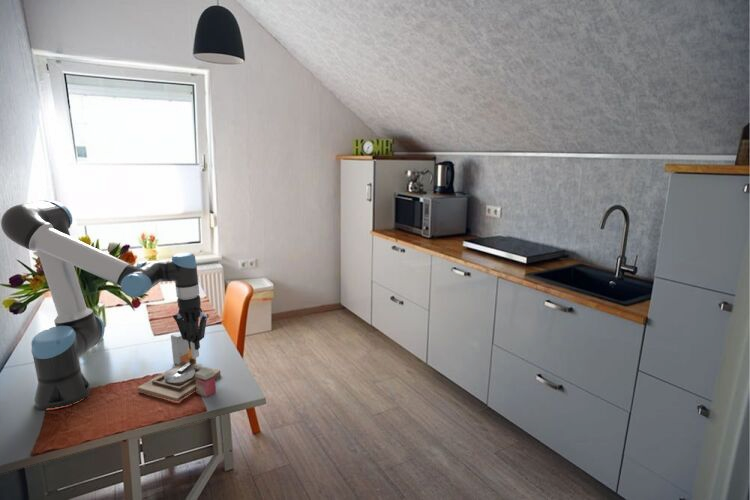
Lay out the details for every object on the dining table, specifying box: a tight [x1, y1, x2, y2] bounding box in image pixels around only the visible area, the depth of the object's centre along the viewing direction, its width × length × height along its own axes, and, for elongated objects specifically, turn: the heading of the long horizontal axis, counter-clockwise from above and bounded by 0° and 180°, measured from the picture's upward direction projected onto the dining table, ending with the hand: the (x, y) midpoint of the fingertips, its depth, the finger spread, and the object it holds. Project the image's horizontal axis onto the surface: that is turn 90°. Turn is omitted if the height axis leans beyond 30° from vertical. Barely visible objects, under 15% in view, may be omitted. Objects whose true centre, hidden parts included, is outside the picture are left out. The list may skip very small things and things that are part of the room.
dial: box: [164, 348, 197, 386], centre depth 156 cm, size 14×10×8 cm
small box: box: [195, 367, 217, 398], centre depth 148 cm, size 5×4×8 cm
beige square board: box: [137, 362, 221, 401], centre depth 155 cm, size 20×18×3 cm
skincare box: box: [170, 331, 189, 365], centre depth 170 cm, size 6×4×12 cm
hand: (195, 357), depth 160 cm, fingers closed
